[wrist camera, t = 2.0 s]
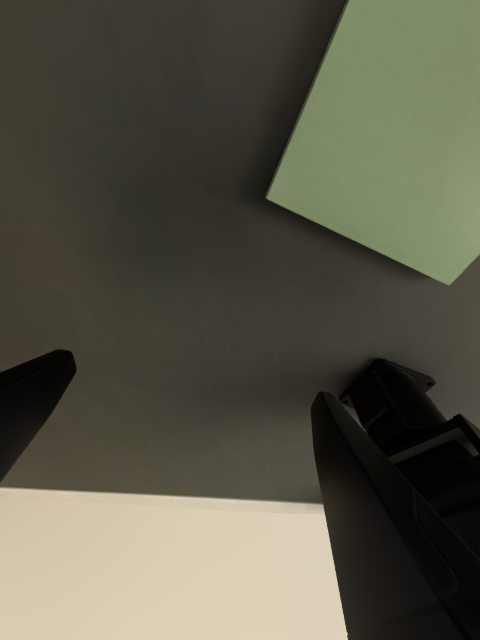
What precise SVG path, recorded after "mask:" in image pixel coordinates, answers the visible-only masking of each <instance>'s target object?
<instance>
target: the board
mask: <svg viewBox="0 0 480 640" xmlns="http://www.w3.org/2000/svg"><path fill="white" fill-rule="evenodd" d="M265 198H266V199H267V200H269V201H271V202H273V203H275V204H278V205H280V206H282V207H284V208H286V209H288V210H290V211H292V212H294V213H297V214H299V215H301V216H303V217H305V218H307V219H309V220H311V221H313V222H315V223H318V224H320V225H322V226H324V227H326V228H328V229H330V230H332V231H334V232H336V233H339V234H341V235H343V236H345V237H347V238H349V239H351V240H353V241H355V242H358V243H360V244H362V245H364V246H366V247H368V248H370V249H372V250H374V251H376V252H379V253H381V254H383V255H385V256H387V257H389V258H391V259H393V260H395V261H397V262H400V263H402V264H404V265H406V266H408V267H410V268H412V269H414V270H416V271H418V272H421V273H423V274H425V275H427V276H429V277H431V278H433V279H435V280H437V281H440V282H442V283H444V284H446V285H450V284H451V283H452V282H453V281H454V280H455V279H456V278H457V277H458V276H459V275H460V274H461V273H462V272H463V271H464V270H465V269H466V268H467V267H468V266H469V265H470V264H471V263H472V262H473V261H474V260H475V259H476V258H477V257H478V256H479V255H480V0H346V2H345V5H344V7H343V9H342V12H341V14H340V17H339V19H338V21H337V24H336V26H335V29H334V31H333V33H332V36H331V38H330V41H329V43H328V45H327V48H326V50H325V53H324V55H323V58H322V60H321V62H320V65H319V67H318V70H317V72H316V74H315V77H314V79H313V82H312V84H311V86H310V89H309V91H308V94H307V96H306V98H305V101H304V103H303V106H302V108H301V111H300V113H299V115H298V118H297V120H296V123H295V125H294V127H293V130H292V132H291V135H290V137H289V139H288V142H287V144H286V147H285V149H284V151H283V154H282V156H281V159H280V161H279V164H278V166H277V168H276V171H275V173H274V176H273V178H272V180H271V183H270V185H269V188H268V190H267V192H266V195H265Z"/></svg>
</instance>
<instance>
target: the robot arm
mask: <svg viewBox="0 0 480 640" xmlns="http://www.w3.org/2000/svg"><path fill="white" fill-rule="evenodd" d="M380 364H381V365H380ZM75 373H76V364H75V360H74V357H73V354H72V352H71V351H68V350H61V349H58V350H54V351H52V352H50V353H47V354H45V355H42V356H40V357H37V358H35V359H32V360H30V361H27V362H25V363H22V364H20V365H18V366H15V367H13V368H10V369H8V370H5V371H3V372H0V482H1V481H2V480H3V478H4V477H5V476H6V474H7V473H8V472H9V470H10V469H11V468H12V466H13V465H14V464H15V462H16V461H17V459H18V458H19V457H20V455H21V454H22V453H23V451H24V450H25V449H26V447H27V446H28V445H29V443H30V442H31V441H32V439H33V438H34V437H35V435H36V434H37V432H38V431H39V430H40V428H41V427H42V426H43V424H44V423H45V422H46V420H47V419H48V417H49V416H50V415H51V413H52V412H53V410H54V409H55V407H56V405H57V404H58V402H59V400H60V399H61V397H62V395H63V394H64V392H65V390H66V389H67V387H68V385H69V384H70V382H71V380H72V379H73V377H74V375H75ZM435 383H436V382H435V381H434V380H433V378H431V377H428V376H426V375H423V374H421V373H418V372H416V371H413V370H410V369H408V368H405V367H403V366H400V365H398V364H395V363H392V362H390V361H387V360H385V359H378V360H376V361H375V362H374V363H373V364H372V365H371V366H370V367H369V368H368V369H367V370H366V371H365V372H364V373H363V374H362V375H361V376H360V377H359V378H358V379H357V380H356V382H355V383H354V384H353V385H352V386H351V387H350V388H349V389H348V390H347V391H346V392H345V393H344V394H343V395H342V396H341V397H340V398H339V400H340V403H341V404H342V405H345V406H348V407H351V408H354V409H355V411H356V413H357V416H358V418H359V420H360V423H361V425H362V427H363V429H365V430H366V432H367V434H368V435H367V434H366V432H365V431H364V430H363V429H362V428H361V427H360V426H359V425H358V423H357V422H356V421H355V420H354V419H353V418H352V417H351V415H350V414H349V413H348V412H347V411H346V410H345V409H344V408H343V406H342V405H341V404H340V403H339V402H338V401H337V400H336V398H335V397H334V396H333V395H332V394H331V393H328V392H322V391H320V392H318V393H317V395H316V397H315V399H314V401H313V403H312V406H311V421H312V434H313V447H314V456H315V462H316V467H317V473H318V478H319V484H320V489H321V494H322V500H323V505H324V511H325V516H326V521H327V527H328V532H329V538H330V543H331V549H332V554H333V560H334V565H335V571H336V576H337V581H338V587H339V592H340V598H341V603H342V609H343V614H344V619H345V625H346V630H347V633H348V635H347V637H348V640H480V429H478V428H477V427H476V426H475V425H473V424H472V423H471V422H470V421H469V420H467V419H466V418H465V417H464V416H463V415H461V414H458V415H456V416H453V419H450V420H448V421H447V420H446V419H445V418H444V416H443V415H442V414H441V412H440V411H439V410H438V409H437V407H436V406H435V405H434V403H433V402H432V401H431V400H430V398H429V397H428V396H427V395H426V393H425V392H427V391H428V390H429V389H430V388H432V387H433V386H434V385H435Z"/></svg>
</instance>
